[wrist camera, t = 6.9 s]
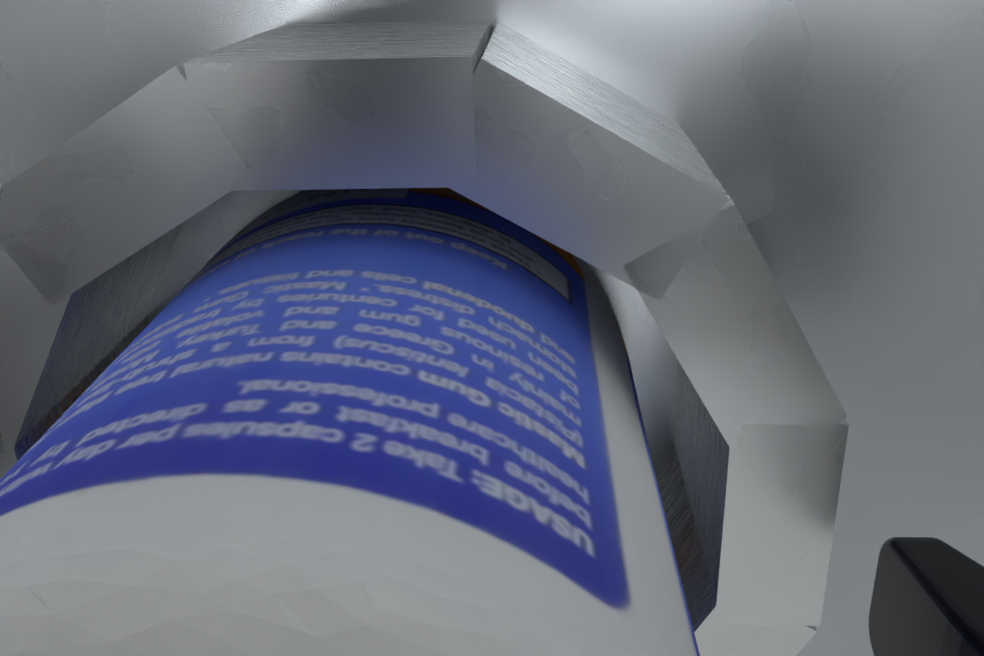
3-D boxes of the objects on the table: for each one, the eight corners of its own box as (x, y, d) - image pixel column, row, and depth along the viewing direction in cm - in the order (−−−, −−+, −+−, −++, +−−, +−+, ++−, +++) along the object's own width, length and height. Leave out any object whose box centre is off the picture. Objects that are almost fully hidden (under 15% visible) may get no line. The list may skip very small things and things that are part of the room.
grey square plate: (-5, 824, 16) (-154, 1070, 13) (-298, -36, 11) (-709, -16, 7) (1059, 849, 15) (1213, 1124, 12) (1348, -85, 10) (1808, -93, 6)
